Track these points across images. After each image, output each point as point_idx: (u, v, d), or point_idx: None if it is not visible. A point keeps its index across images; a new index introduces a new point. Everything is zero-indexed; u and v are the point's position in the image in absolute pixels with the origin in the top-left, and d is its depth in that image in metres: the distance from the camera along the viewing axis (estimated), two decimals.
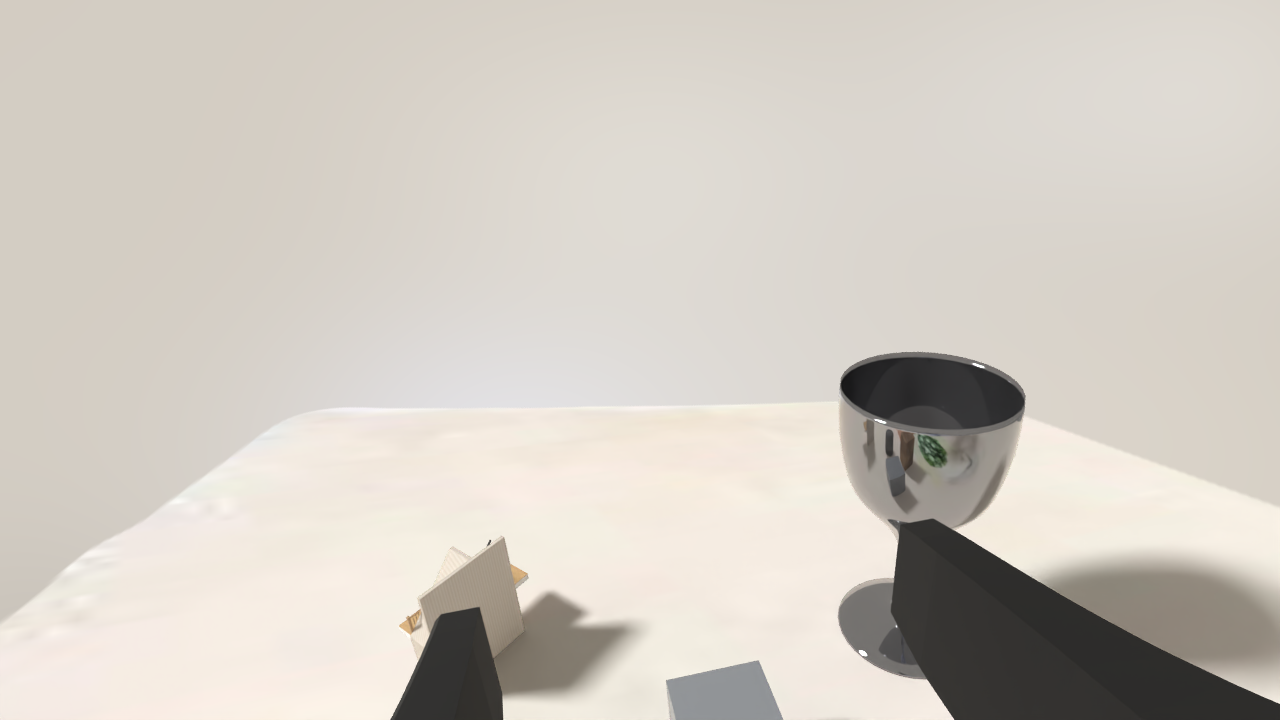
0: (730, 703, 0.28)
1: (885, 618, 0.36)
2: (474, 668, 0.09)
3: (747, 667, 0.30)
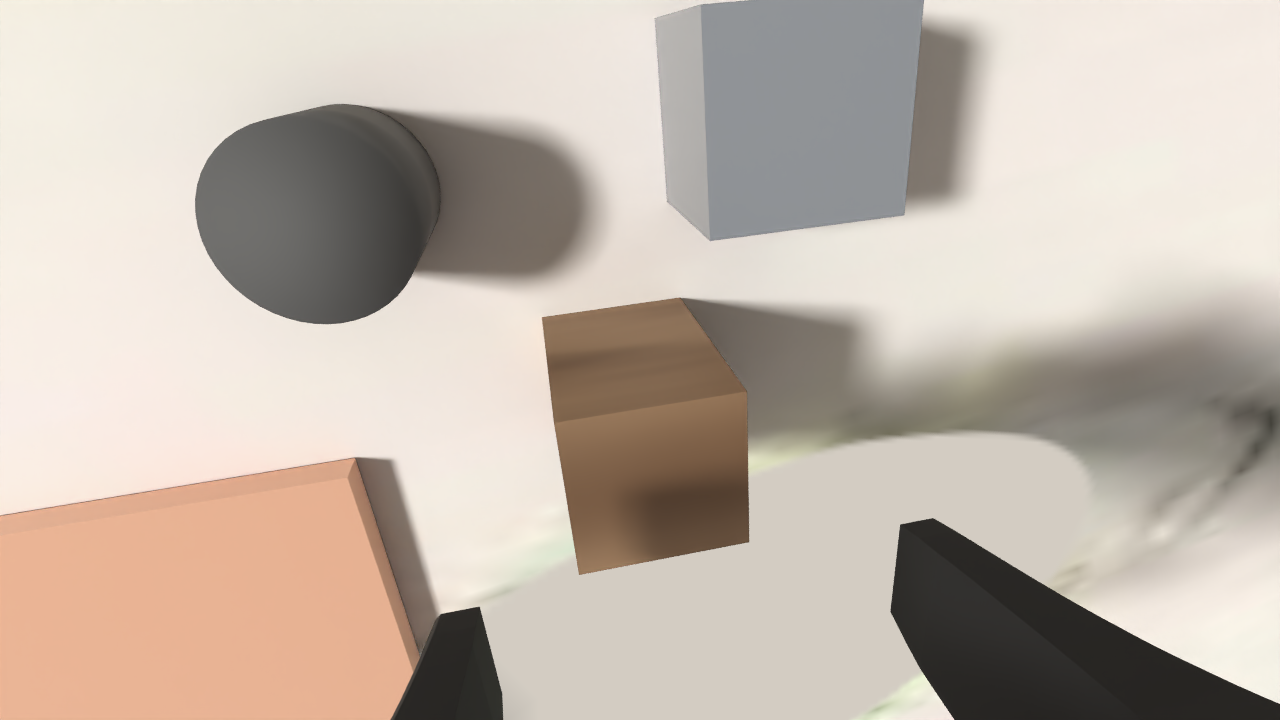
0: (826, 98, 0.13)
1: None
2: (474, 668, 0.09)
3: (892, 3, 0.12)
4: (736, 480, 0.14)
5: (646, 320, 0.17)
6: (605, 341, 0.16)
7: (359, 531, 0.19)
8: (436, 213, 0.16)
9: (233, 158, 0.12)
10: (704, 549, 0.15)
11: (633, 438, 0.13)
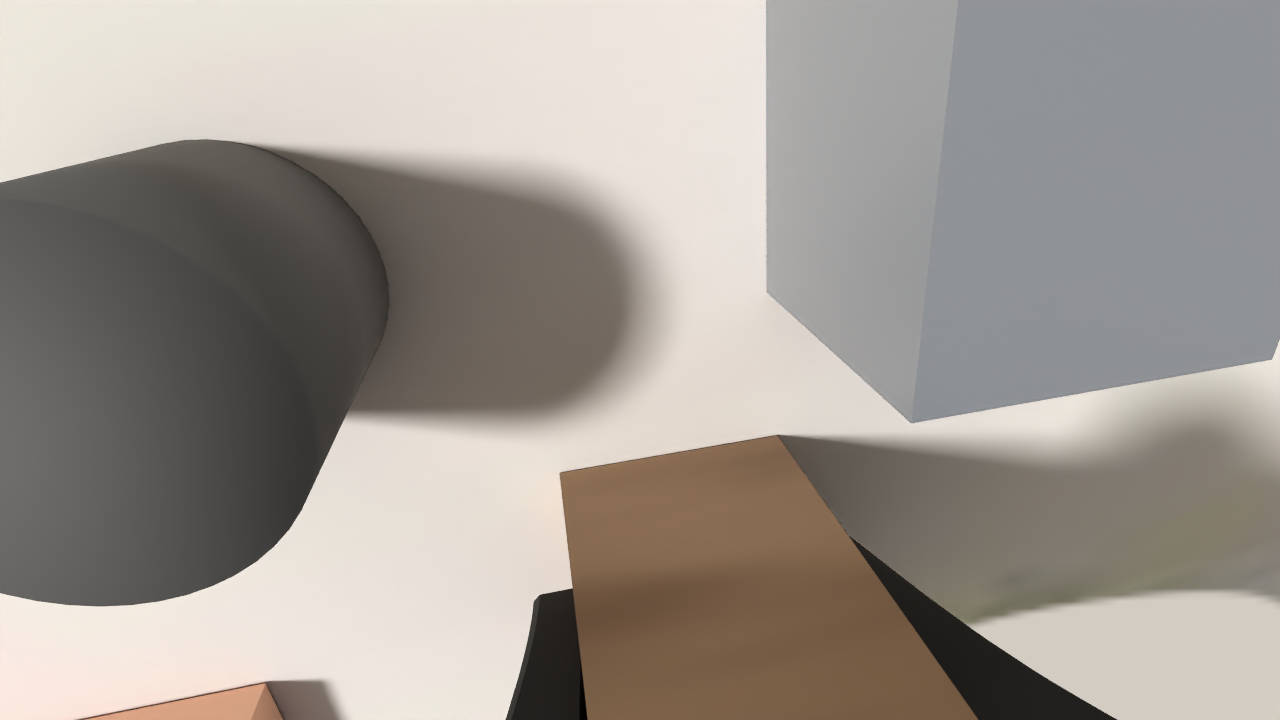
0: (1188, 140, 0.06)
1: None
2: None
3: None
4: None
5: (734, 492, 0.10)
6: (672, 547, 0.09)
7: None
8: (377, 330, 0.09)
9: None
10: None
11: None
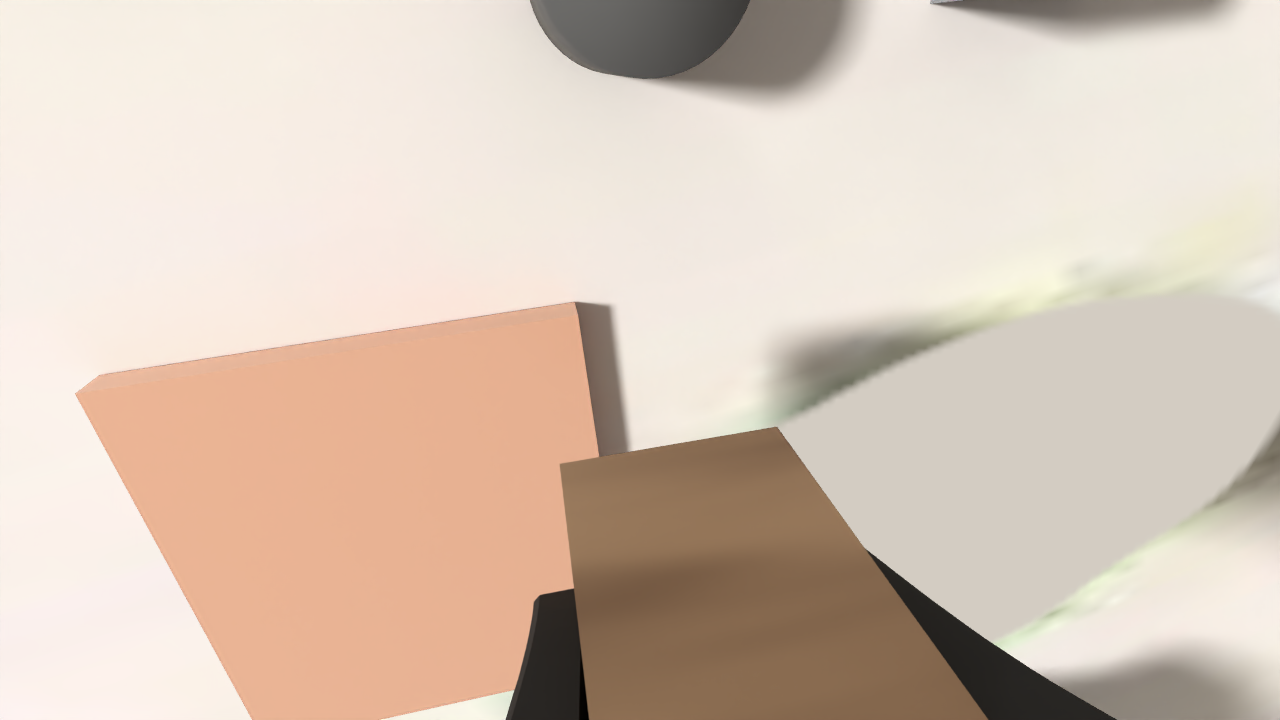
0: None
1: None
2: None
3: None
4: None
5: (734, 482, 0.11)
6: (672, 535, 0.10)
7: (581, 380, 0.18)
8: None
9: None
10: None
11: None
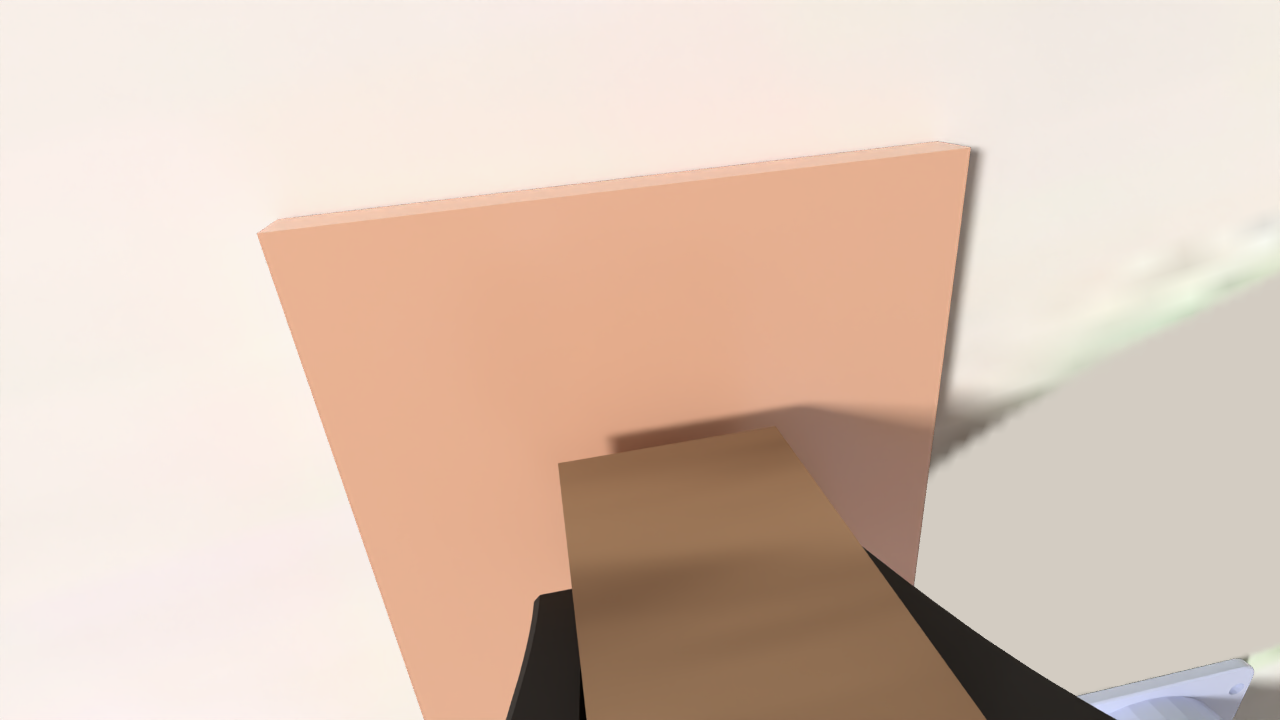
0: None
1: None
2: None
3: None
4: None
5: (732, 481, 0.11)
6: (670, 534, 0.10)
7: (948, 252, 0.12)
8: None
9: None
10: None
11: None
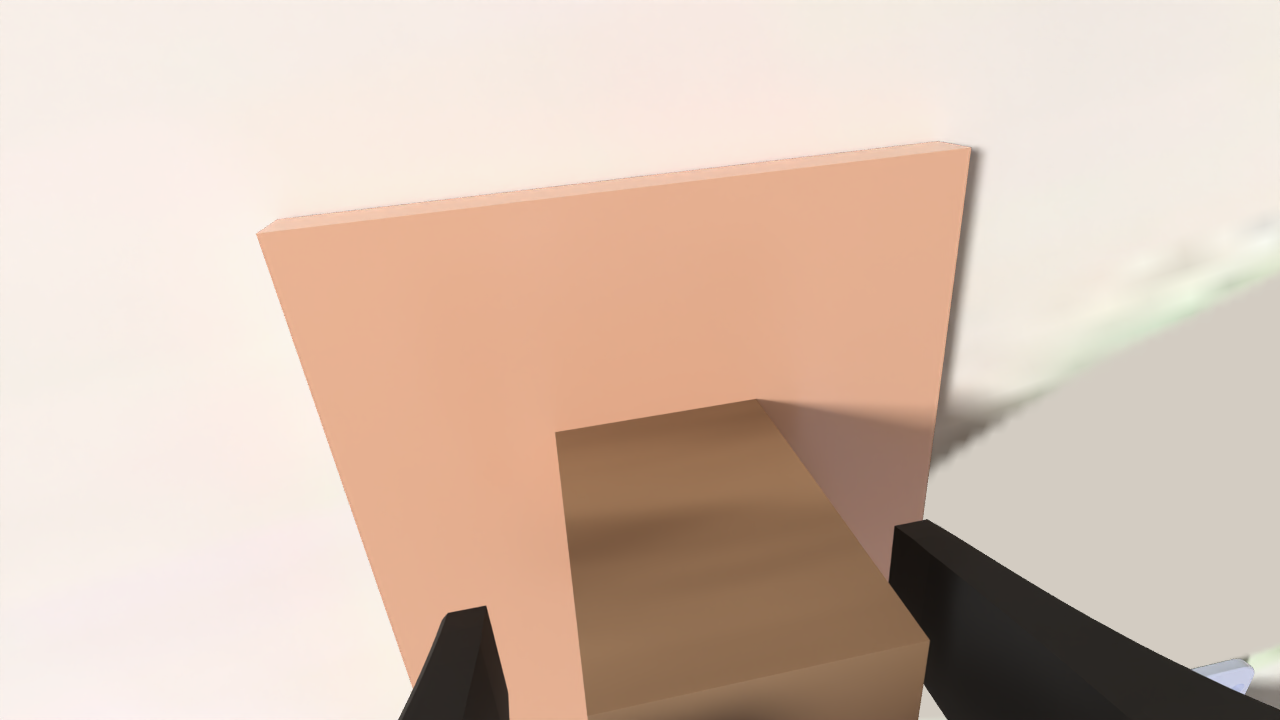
0: None
1: None
2: (481, 666, 0.09)
3: None
4: None
5: (714, 446, 0.12)
6: (655, 491, 0.10)
7: (948, 252, 0.12)
8: None
9: None
10: None
11: None
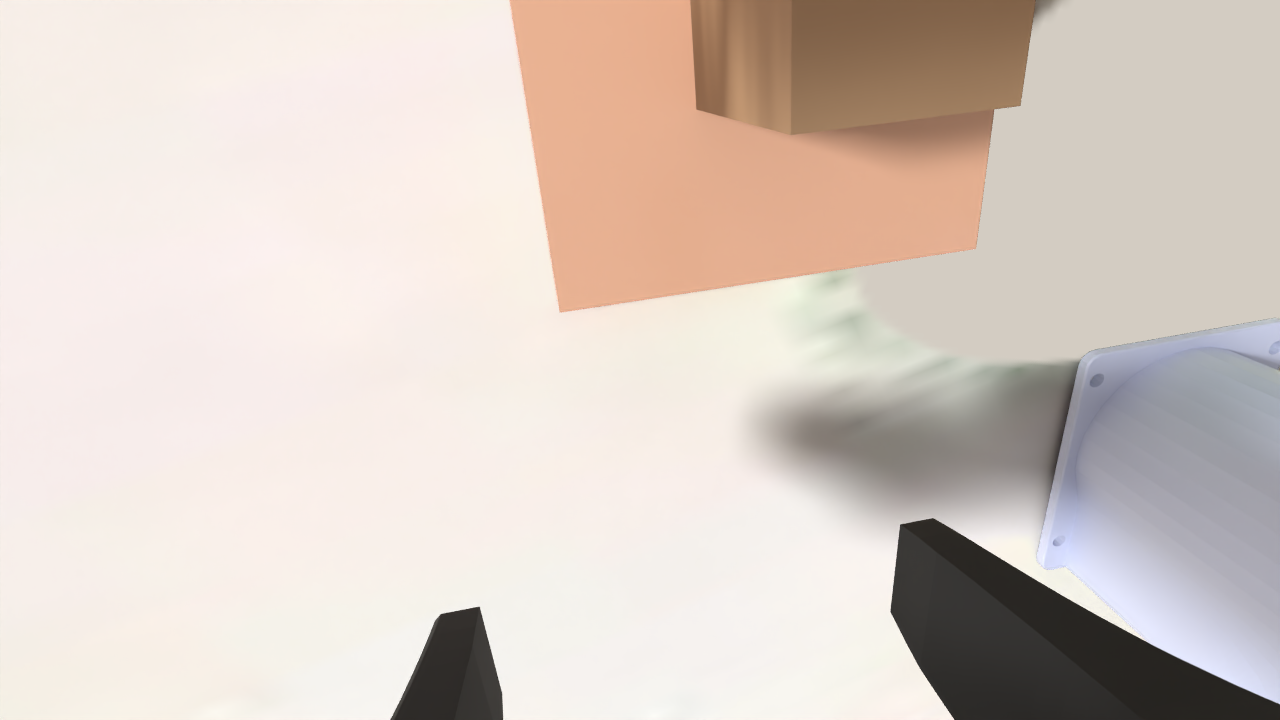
0: None
1: None
2: (474, 668, 0.09)
3: None
4: None
5: None
6: None
7: None
8: None
9: None
10: (959, 113, 0.11)
11: None
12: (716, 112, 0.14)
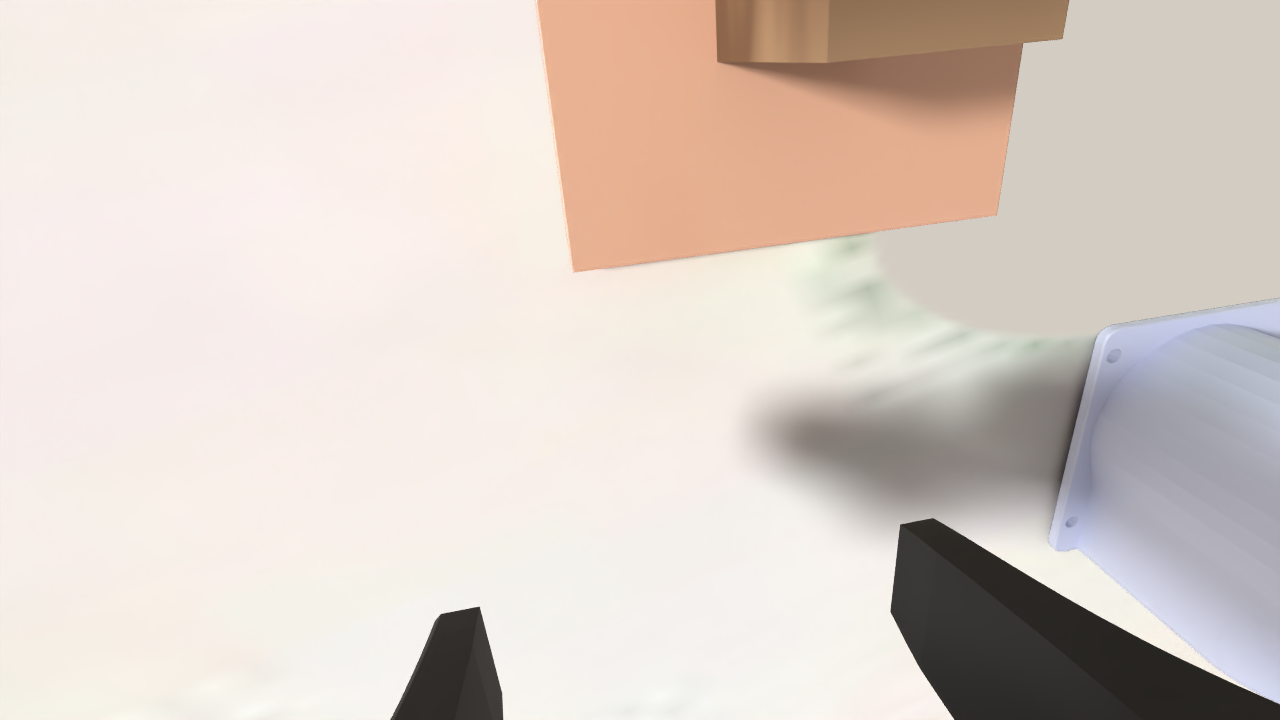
0: None
1: None
2: (474, 668, 0.09)
3: None
4: None
5: None
6: None
7: None
8: None
9: None
10: None
11: None
12: (740, 59, 0.14)
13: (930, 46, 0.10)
